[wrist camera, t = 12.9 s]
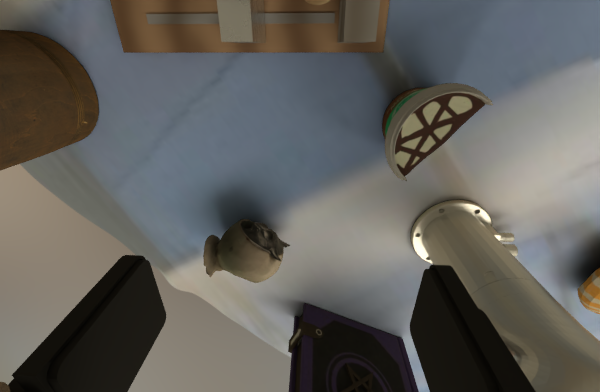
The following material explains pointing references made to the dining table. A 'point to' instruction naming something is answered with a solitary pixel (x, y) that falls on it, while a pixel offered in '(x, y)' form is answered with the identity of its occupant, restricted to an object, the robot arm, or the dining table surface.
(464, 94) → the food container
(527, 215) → the dining table surface
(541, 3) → the dining table surface
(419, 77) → the dining table surface
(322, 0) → the walnut
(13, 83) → the wooden container
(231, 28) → the sliding jaw
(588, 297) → the nautilus
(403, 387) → the book
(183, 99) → the dining table surface
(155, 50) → the base
